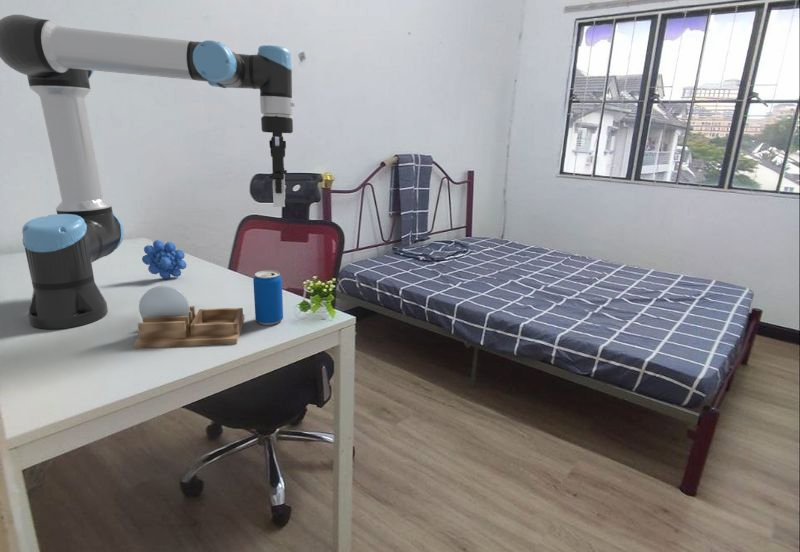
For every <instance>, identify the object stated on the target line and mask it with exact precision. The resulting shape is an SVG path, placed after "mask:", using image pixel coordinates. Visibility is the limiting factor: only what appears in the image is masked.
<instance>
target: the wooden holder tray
mask: <svg viewBox="0 0 800 552" xmlns="http://www.w3.org/2000/svg"><path fill="white" fill-rule="evenodd" d="M189 306H190V311H189V315H188V316H163V317H144V318H142V322H138V324H137V327H138V335H139V337H138V338H137V340H135V342H134V345H135V349H143V348H144V349H147V348H149V349H150V348H171V347H189V346H190V347H192V346H194V347H195V346H212V345H232V344H233V345H235V344H238V342H239V338H240V335H241V332H242V328H243V326H244V322H245V318H246V317H245V313H244V311H243V310H244V309H243V307H231V308H230V307H229V308H228V307H227V308H226V307H225V308H222V307H221V308H199V309H198V311H197V313H196V306H195V305H189Z"/></svg>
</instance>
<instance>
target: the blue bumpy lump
mask: <svg viewBox="0 0 800 552" xmlns="http://www.w3.org/2000/svg"><path fill="white" fill-rule="evenodd" d="M143 251H144V253H145V255H142V258H141V261H142V263H144V264H145V266H146V265H147V266H148V268H147V269H148V272H149V273H150V274H152V275H157V274H159V276H160V277H161V278H162V279H165V280H168V279H169V278H171V276H173V277H174V278H178V277H180V276H181V275H182V271H181V270H184V269H186V268H187V266H188V265H187V263H186V261H185V260H184V259H185V256H186V255H185V252H184V251H182V250H181V249H177V246H176V244H175V243H173V242H171V241H167V242H166V243H164V242H163V241H162V240H159V239H155V241H153V242H152V245H150V244H149V245H148V244H147V245H145V246H144V248H143Z"/></svg>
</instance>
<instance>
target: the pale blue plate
mask: <svg viewBox="0 0 800 552" xmlns="http://www.w3.org/2000/svg"><path fill="white" fill-rule="evenodd" d="M190 306H191V305H190V303H189V300H188V298H187V297H186V296H185V294H184V293H183V292H181V291H180V290H179V289H177V288H175V287H173V286H168V285H158V286H154V287H152V288H150V289H149V290H147V291H146V292H144V294H143V295H142V296H141V298H140V300H139V304H138V310H139V311H138V312H139V314H140V317H141V319H143V318H144V317H163V316H188V315H189V311H190Z"/></svg>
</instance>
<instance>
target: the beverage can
mask: <svg viewBox="0 0 800 552" xmlns="http://www.w3.org/2000/svg"><path fill="white" fill-rule="evenodd" d="M252 282H253V297H254V315H255V321H256V322H257V323H259V324H260V325H262V326H272V325H277V324H278V323H280V321H282V320H283V319H284V307H283V306H284V304H283V279H282V276H281V273H280V272H279V271H277V270H268V269H267V270H261V271H257V272H256V273H254V277H253V281H252Z"/></svg>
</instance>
